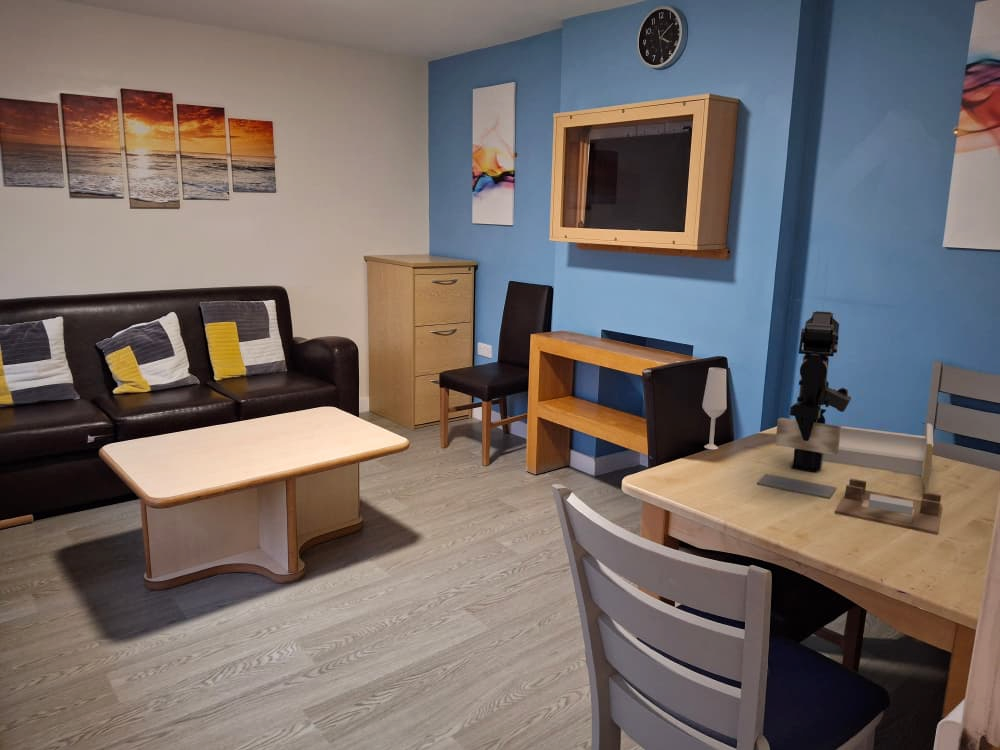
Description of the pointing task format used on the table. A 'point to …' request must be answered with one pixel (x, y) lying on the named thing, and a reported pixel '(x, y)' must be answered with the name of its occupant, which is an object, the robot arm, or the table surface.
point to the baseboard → (927, 454)
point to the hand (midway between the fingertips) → (807, 439)
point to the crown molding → (880, 450)
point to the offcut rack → (924, 510)
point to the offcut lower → (885, 513)
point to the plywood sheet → (820, 439)
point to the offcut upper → (891, 504)
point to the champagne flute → (715, 399)
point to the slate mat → (797, 486)
